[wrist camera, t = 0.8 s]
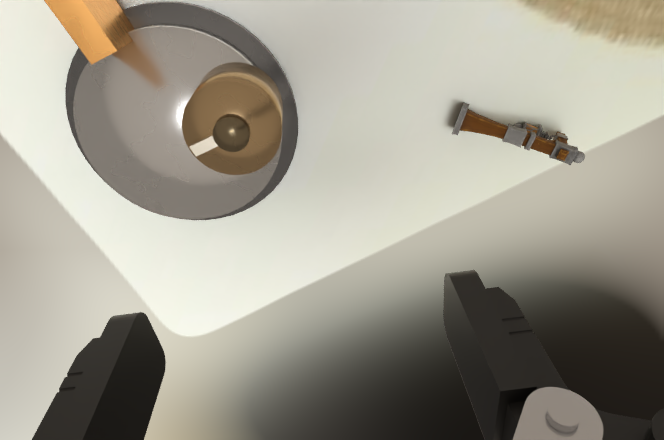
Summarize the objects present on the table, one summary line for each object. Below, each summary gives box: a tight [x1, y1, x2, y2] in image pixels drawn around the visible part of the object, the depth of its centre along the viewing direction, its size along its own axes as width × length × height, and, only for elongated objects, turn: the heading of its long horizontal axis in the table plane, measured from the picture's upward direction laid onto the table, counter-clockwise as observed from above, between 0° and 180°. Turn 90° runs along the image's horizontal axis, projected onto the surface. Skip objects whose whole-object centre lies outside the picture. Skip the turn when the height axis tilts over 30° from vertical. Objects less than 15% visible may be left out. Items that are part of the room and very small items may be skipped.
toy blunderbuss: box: [452, 103, 585, 165], centre depth 29 cm, size 2×8×4 cm, turn 77°
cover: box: [182, 62, 283, 175], centre depth 24 cm, size 5×5×5 cm
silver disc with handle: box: [44, 0, 282, 219], centre depth 25 cm, size 16×12×4 cm
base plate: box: [66, 2, 298, 220], centre depth 28 cm, size 14×14×1 cm
